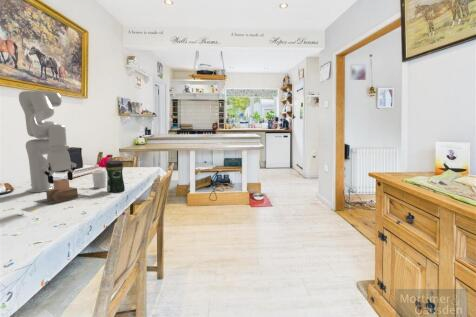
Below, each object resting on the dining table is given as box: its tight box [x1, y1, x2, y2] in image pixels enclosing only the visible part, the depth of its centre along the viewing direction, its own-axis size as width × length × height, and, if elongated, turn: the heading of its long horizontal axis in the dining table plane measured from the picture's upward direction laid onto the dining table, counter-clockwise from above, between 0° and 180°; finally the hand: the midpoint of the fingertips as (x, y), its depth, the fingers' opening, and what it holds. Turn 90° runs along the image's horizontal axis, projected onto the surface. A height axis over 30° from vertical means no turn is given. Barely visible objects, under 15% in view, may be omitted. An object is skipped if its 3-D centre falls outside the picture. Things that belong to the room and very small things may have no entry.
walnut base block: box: [45, 186, 79, 202], centre depth 145 cm, size 10×10×5 cm
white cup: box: [91, 170, 107, 189], centre depth 179 cm, size 8×8×10 cm
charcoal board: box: [33, 193, 89, 206], centre depth 145 cm, size 16×20×2 cm
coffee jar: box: [105, 160, 125, 194], centre depth 166 cm, size 10×8×19 cm
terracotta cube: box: [53, 178, 70, 191], centre depth 144 cm, size 5×5×5 cm
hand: (60, 181), depth 144 cm, fingers open, 9 cm apart
